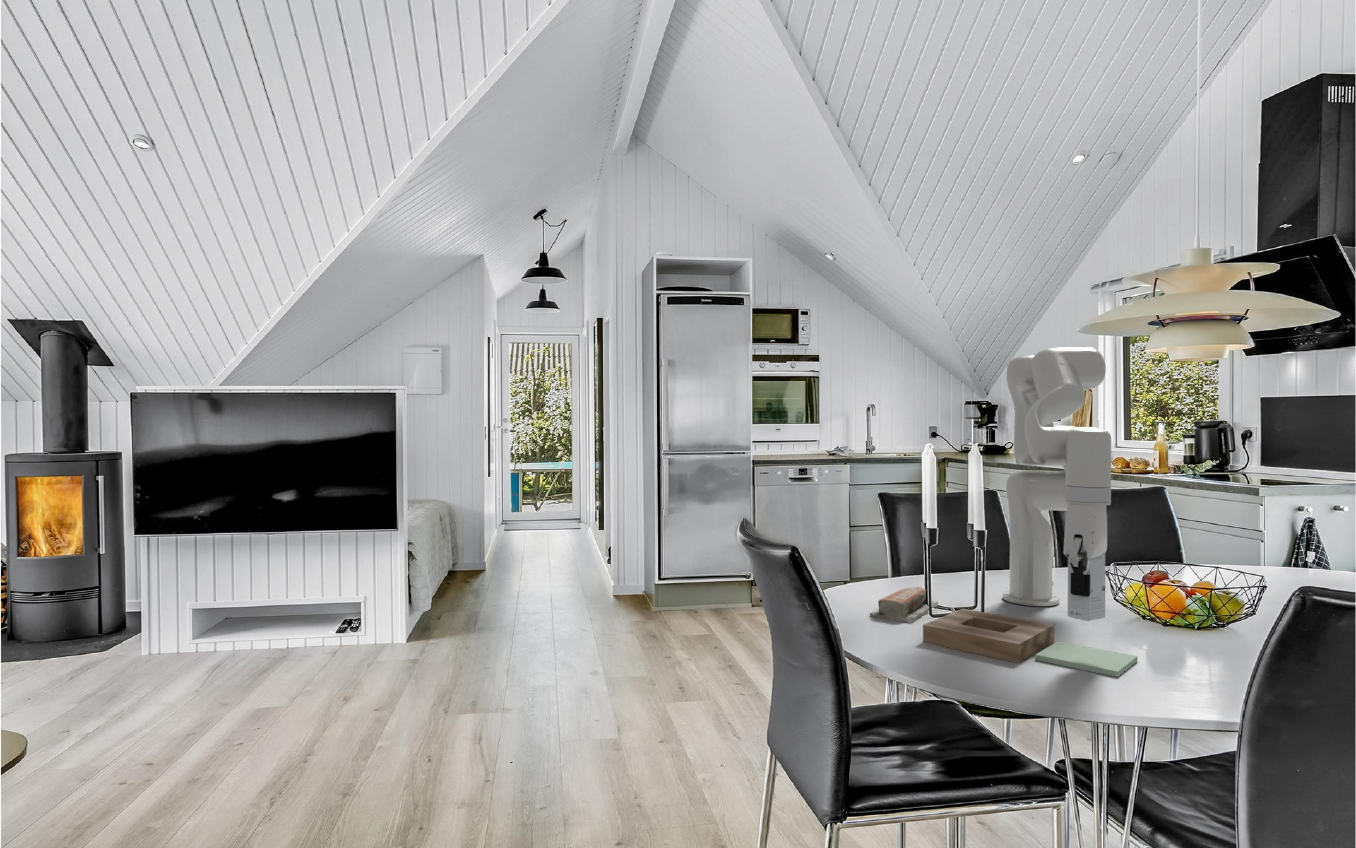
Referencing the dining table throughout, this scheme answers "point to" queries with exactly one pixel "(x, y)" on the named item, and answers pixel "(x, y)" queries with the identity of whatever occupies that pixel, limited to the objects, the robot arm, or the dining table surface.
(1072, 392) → the robot arm
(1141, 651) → the dining table surface
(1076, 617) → the skincare box
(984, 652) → the pocket block
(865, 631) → the dining table surface
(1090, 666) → the mat
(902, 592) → the pink and beige block
